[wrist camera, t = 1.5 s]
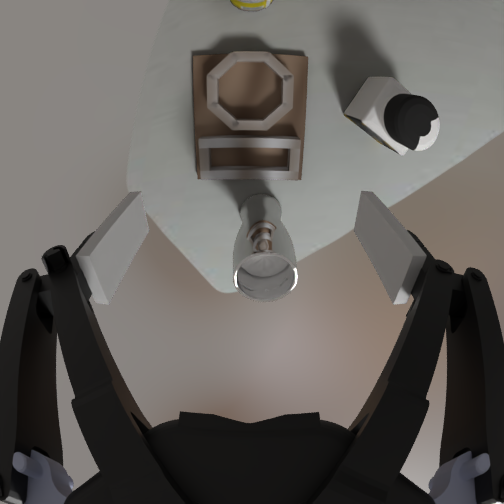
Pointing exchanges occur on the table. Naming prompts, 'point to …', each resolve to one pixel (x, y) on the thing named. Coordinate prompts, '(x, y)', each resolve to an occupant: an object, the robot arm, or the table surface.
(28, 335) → the robot arm
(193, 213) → the table surface
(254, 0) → the supplement bottle
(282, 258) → the beer glass
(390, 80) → the medicine bottle
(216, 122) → the socket board
